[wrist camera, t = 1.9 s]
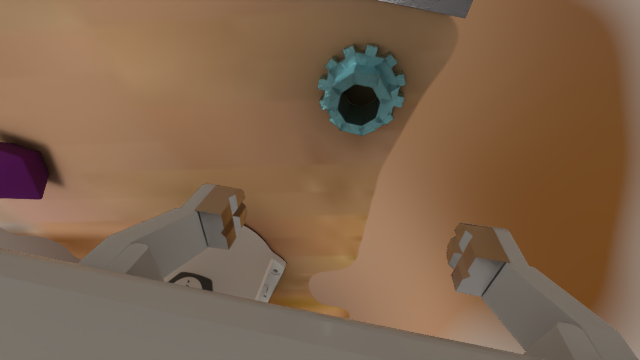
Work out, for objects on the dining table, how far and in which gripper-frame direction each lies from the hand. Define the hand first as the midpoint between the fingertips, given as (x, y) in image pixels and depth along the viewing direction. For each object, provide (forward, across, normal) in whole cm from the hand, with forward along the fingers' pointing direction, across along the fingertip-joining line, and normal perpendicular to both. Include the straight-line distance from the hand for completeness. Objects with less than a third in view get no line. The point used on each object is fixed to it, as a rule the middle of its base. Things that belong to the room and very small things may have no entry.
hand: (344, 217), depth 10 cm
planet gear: (+18, 0, 0) cm, 18 cm away
